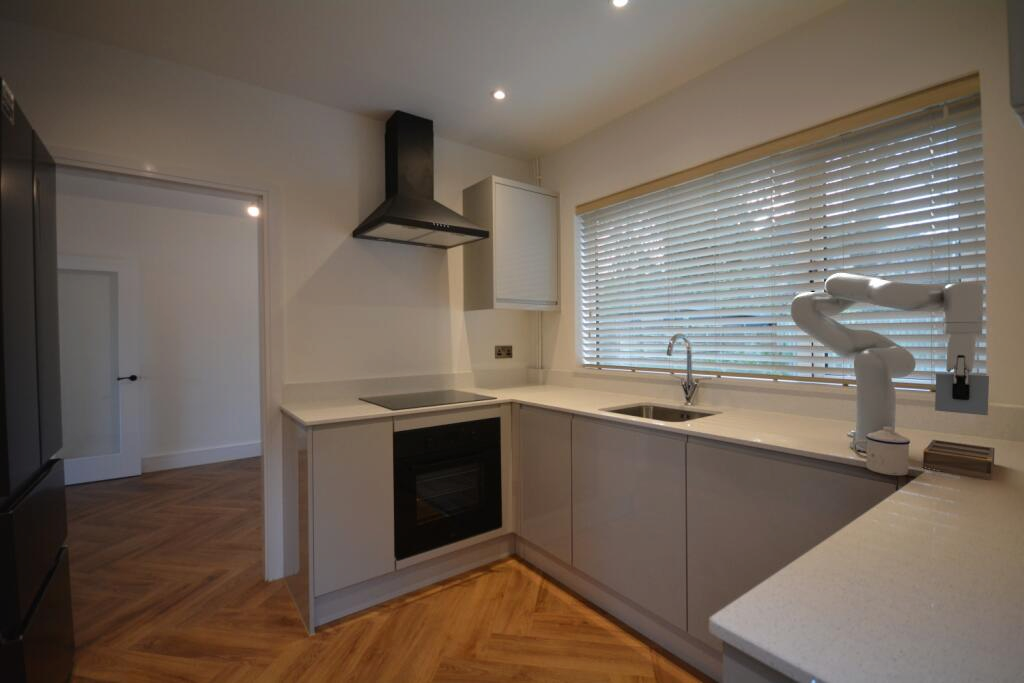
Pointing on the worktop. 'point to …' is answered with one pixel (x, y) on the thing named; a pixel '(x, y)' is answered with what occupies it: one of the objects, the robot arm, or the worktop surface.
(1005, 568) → the worktop surface
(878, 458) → the teacup with lid
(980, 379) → the panel
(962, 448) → the rack
